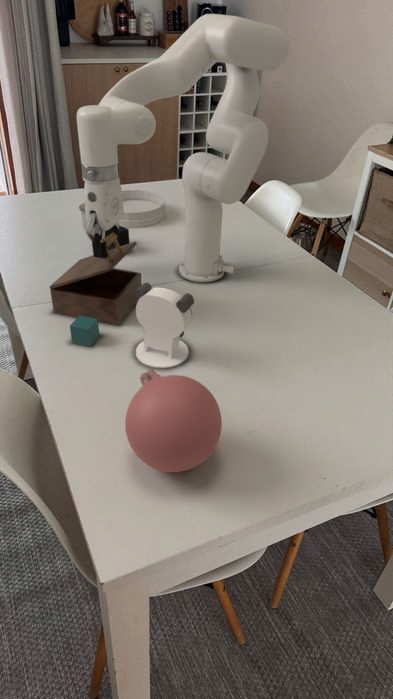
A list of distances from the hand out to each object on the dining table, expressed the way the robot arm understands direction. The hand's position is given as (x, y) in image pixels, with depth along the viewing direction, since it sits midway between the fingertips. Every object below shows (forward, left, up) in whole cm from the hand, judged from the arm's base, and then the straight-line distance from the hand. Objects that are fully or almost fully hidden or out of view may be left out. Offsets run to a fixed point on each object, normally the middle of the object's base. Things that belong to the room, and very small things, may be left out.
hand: (107, 250), depth 116 cm
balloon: (-29, +39, -15) cm, 51 cm away
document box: (+3, 0, -15) cm, 15 cm away
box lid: (+3, 0, -5) cm, 6 cm away
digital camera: (+13, -31, -15) cm, 37 cm away
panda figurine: (-19, +14, -15) cm, 28 cm away
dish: (+18, -57, -15) cm, 62 cm away
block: (-1, +15, -15) cm, 21 cm away
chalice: (+11, -16, -15) cm, 25 cm away
